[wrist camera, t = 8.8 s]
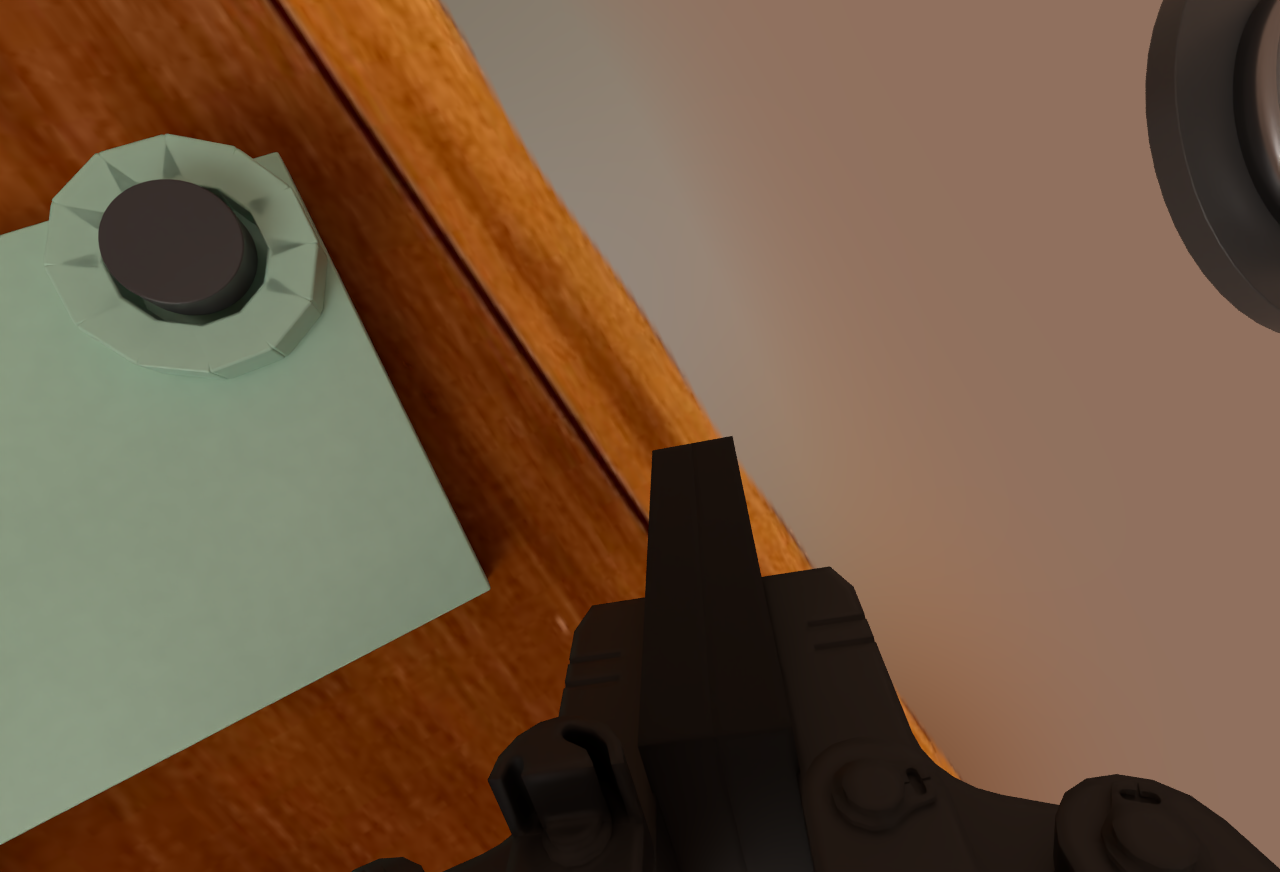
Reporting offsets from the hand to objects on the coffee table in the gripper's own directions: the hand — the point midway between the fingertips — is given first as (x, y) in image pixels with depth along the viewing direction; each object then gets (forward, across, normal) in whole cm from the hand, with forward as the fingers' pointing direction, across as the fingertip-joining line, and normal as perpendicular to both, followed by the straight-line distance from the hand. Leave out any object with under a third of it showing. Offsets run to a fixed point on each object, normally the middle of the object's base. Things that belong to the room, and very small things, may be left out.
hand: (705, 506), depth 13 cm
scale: (+5, -16, +1) cm, 17 cm away
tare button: (+6, -12, +6) cm, 15 cm away
